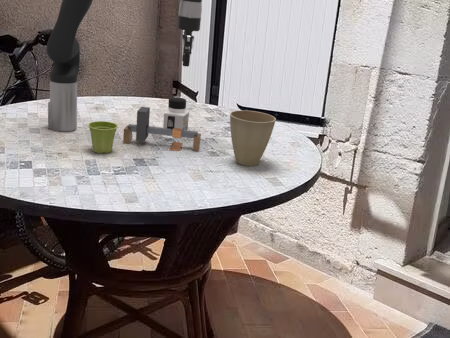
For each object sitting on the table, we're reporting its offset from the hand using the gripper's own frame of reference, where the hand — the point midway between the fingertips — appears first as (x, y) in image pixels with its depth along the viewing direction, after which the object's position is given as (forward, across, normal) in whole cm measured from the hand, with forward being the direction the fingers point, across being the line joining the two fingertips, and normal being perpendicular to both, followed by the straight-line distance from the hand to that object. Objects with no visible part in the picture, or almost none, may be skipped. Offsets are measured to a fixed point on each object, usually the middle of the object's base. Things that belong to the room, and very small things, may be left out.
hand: (185, 64), depth 191 cm
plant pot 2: (+28, +19, +23) cm, 40 cm away
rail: (+28, +6, -6) cm, 29 cm away
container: (+28, -12, -1) cm, 31 cm away
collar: (+26, +5, -13) cm, 30 cm away
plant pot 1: (+28, +16, -25) cm, 41 cm away
